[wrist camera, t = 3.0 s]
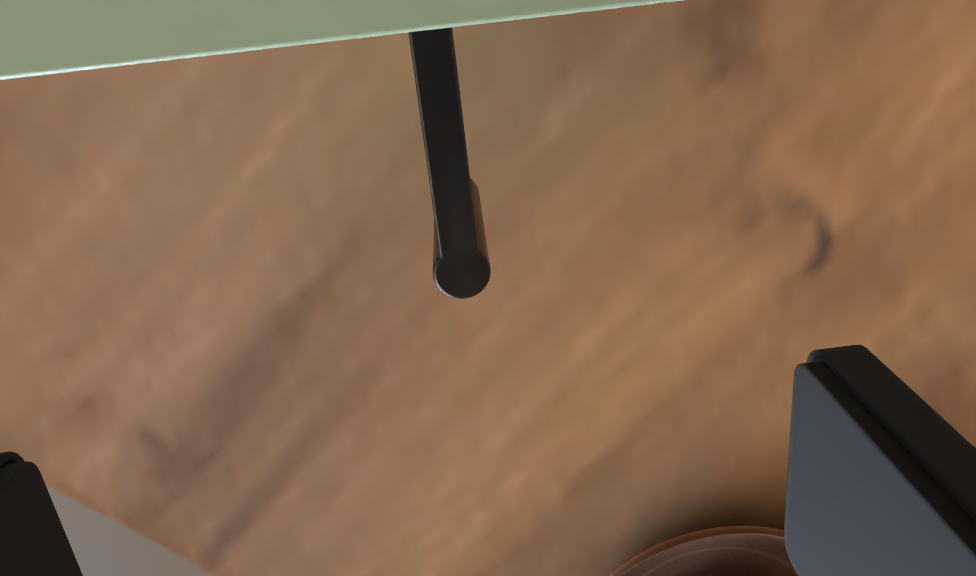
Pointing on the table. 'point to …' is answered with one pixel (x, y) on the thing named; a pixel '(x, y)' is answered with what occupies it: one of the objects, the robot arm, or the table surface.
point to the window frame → (228, 26)
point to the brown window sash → (449, 168)
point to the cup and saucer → (715, 554)
